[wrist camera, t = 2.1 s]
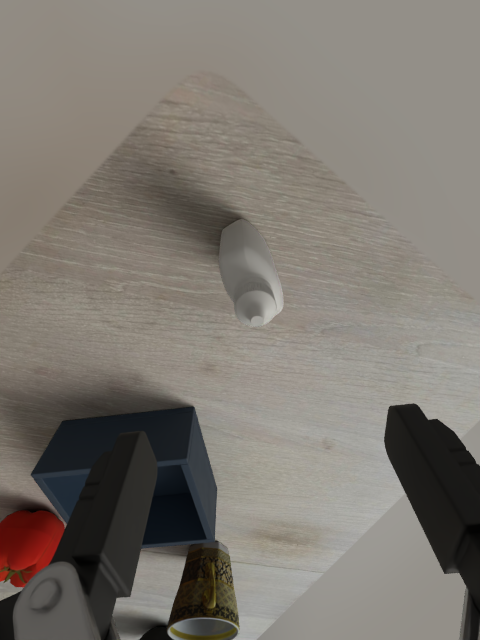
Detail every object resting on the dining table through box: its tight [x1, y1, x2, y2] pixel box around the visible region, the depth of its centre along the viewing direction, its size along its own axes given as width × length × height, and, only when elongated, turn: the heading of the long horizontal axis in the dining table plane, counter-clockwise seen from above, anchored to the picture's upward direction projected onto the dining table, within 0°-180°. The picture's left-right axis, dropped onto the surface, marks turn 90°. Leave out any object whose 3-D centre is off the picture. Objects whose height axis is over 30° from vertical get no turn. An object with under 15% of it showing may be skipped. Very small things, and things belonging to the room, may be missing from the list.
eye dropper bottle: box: [219, 219, 284, 327], centre depth 22 cm, size 4×6×12 cm
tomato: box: [0, 510, 65, 587], centre depth 44 cm, size 9×9×8 cm
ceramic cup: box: [167, 541, 240, 640], centre depth 48 cm, size 13×10×10 cm
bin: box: [31, 407, 217, 549], centre depth 38 cm, size 16×16×7 cm
